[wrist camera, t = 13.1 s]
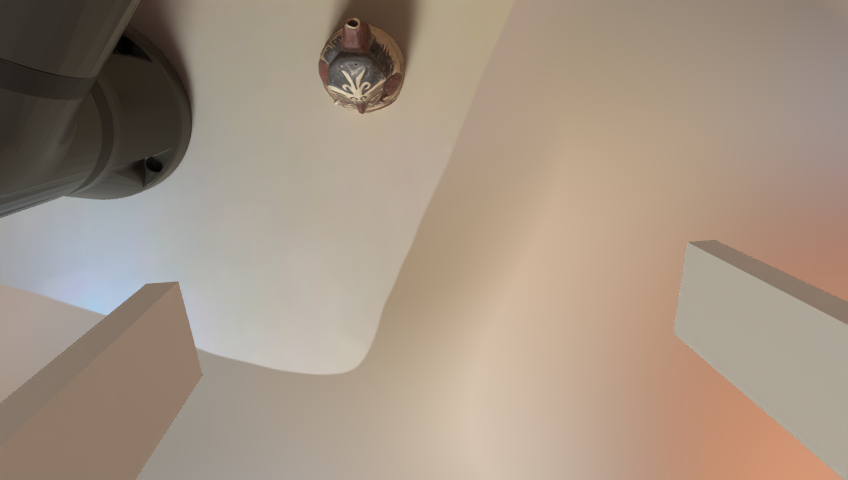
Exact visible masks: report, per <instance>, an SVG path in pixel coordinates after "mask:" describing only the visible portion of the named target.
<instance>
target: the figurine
mask: <svg viewBox="0 0 848 480" xmlns="http://www.w3.org/2000/svg"><path fill="white" fill-rule="evenodd" d="M319 74H320V77H321V79H322V82H323V85H324V87H325V89H326V91H327V92H328V94H329V95H330V96H331V97H332V98H333V99H334V100H335V101H334V104H335V105H337V106H343V107H345V108H347V109H348V110H351V111H359V113H361V114H364V113H371V112H373V111H375V110H379V109H382V108H384V107H386V106H388V105H390V104H392V103H393V102H394V101H395V100H396V99H397V97H398V95H399V93H400V91H401V88H402V85H403V81H404V75H405V66H404V59H403V56H402V53H401V51H400V48H399V47H398V45H397V44H396V42H395V41H394V39H393V38H392V37H391V36H390V35H388V34H387V33H386V32H385V31H383V30H382V29H379V28H377V27H374V26H372V25H368V24H366V23H364V22H360V21H359V19H357V18H349V19H348V20H347V21H346V22H345V24H344V26H343V28H341V29H340V30H338V31H337V32H335V33H334V34H333V35H332V36H331V37H330V39H329V40H328V41H327V42H326V44H325V47H324V49H323V50H322V52H321V55H320V60H319Z"/></svg>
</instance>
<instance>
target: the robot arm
mask: <svg viewBox="0 0 848 480" xmlns="http://www.w3.org/2000/svg"><path fill="white" fill-rule="evenodd" d="M140 1H141V0H0V218H2V217H5V216H8V215H11V214H13V213H16V212H19V211H22V210H25V209H28V208H31V207H34V206H37V205H40V204H43V203H46V202H49V201H51V200H54V199H57V198H60V197H62V196H68V197H78V198H88V199H101V200H105V199H117V198H123V197H128V196H132V195H134V194H137V193H140V192H142V191H145V190H147V189H149V188H152V187H154V186H156V185H157V184H159V183H161V182H162V181H164V180H165V179H166V178H167V177H168V176H170V175H171V174H172V173H173V172H174V170H175V169H176V168H177V167H178V165H179V164H180V162H181V161H182V159H183V157H184V155H185V152H186V150H187V147H188V144H189V139H190V133H191V114H190V107H189V103H188V99H187V95H186V92H185V90H184V87H183V85H182V83H181V81H180V79H179V77H178V75H177V73H176V71H175V70H174V68H173V67H172V65H171V64H170V63H169V61H168V60H167V59H166V57H165V56H164V55H163V54H162V53H161V52H160V51H159V50H158V49H157V47H156V46H154V45H153V44H152V43H151V42H150V41H149V40H148V39H146V38H145V37H144V36H142V35H141V34H140V33H138V32H137V31H135V30H134V29H132V28H130V27H128V26H127V25H128V23H129V21H130V19H131V18H132V16H133V14H134V12H135V10H136V8H137V7H138V5H139V3H140ZM673 333H674V334H675V335H676V336H677V337H678V338H680V339H681V340H682V341H683V342H684V343H685V344H687V345H688V346H689V347H690V348H691V349H692V350H694V351H695V352H696V353H697V354H698V355H699V356H701V357H702V358H703V359H704V360H705V361H706V362H708V363H709V364H710V365H711V366H712V367H713V368H715V369H716V370H717V371H718V372H719V373H720V374H721V375H723V376H724V377H725V378H726V379H727V380H729V381H730V382H731V383H732V384H733V385H734V386H735V387H737V388H738V389H739V390H740V391H741V392H742V393H744V394H745V395H746V396H747V397H748V398H749V399H751V400H752V401H753V402H754V403H755V404H756V405H758V406H759V407H760V408H761V409H762V410H763V411H765V412H766V413H767V414H768V415H769V416H770V417H772V418H773V419H774V420H775V421H776V422H777V423H779V424H780V425H781V426H782V427H783V428H784V429H785V430H787V431H788V432H789V433H790V434H792V436H794V437H795V438H796V439H797V440H798V441H800V442H801V443H802V444H803V445H804V446H805V447H807V448H808V449H809V450H810V451H811V452H813V454H815V455H816V456H817V457H818V458H819V459H820V460H822V461H823V462H824V463H825V464H826V465H828V466H829V467H830V468H831V469H832V470H833V471H834V472H836V473H837V474H838V475H839V476H840V477H841V478H843V479H844V480H848V302H847V301H845V300H843V299H840V298H838V297H836V296H834V295H832V294H830V293H828V292H825V291H823V290H821V289H819V288H817V287H815V286H813V285H810V284H808V283H806V282H804V281H802V280H800V279H797V278H795V277H793V276H791V275H789V274H787V273H785V272H783V271H780V270H778V269H776V268H774V267H772V266H770V265H767V264H765V263H763V262H761V261H759V260H757V259H755V258H752V257H750V256H748V255H746V254H744V253H742V252H740V251H737V250H735V249H733V248H731V247H729V246H727V245H725V244H722V243H720V242H718V241H716V240H710V241H696V242H688V243H687V248H686V254H685V260H684V266H683V273H682V279H681V285H680V292H679V298H678V304H677V311H676V317H675V323H674V329H673ZM201 377H202V371H201V367H200V364H199V359H198V355H197V351H196V348H195V344H194V340H193V336H192V332H191V328H190V325H189V321H188V317H187V313H186V309H185V305H184V302H183V298H182V294H181V290H180V286H179V282H165V283H152V284H146V285H144V286H143V287H142V288H141V289H140V290H138V291H137V292H136V293H135V294H133V295H132V296H131V297H130V298H129V299H127V300H126V301H125V302H124V303H122V304H121V305H120V306H119V307H117V308H116V309H115V310H114V311H113V312H111V313H110V314H109V315H108V316H106V317H105V318H104V319H103V320H102V321H100V322H99V323H98V324H97V325H95V326H94V327H93V328H92V329H91V330H90V331H88V332H87V333H86V334H85V335H83V336H82V337H81V338H80V339H78V340H77V341H76V342H75V343H73V344H72V345H71V346H70V347H68V348H67V349H66V350H65V351H64V352H62V353H61V354H60V355H59V356H57V357H56V358H55V359H54V360H53V361H51V362H50V363H49V364H48V365H46V366H45V367H44V368H43V369H42V370H41V371H39V372H38V373H37V374H35V375H34V376H33V377H32V378H31V379H29V380H28V381H27V382H26V383H24V384H23V385H22V386H21V387H20V388H18V389H17V390H16V391H15V392H13V393H12V394H11V395H10V396H8V397H7V398H6V399H5V400H4V401H2V402H1V403H0V480H135V479H136V478H137V476H138V475H139V473H140V472H141V470H142V468H143V467H144V465H145V464H146V462H147V461H148V459H149V458H150V456H151V454H152V453H153V451H154V450H155V448H156V447H157V445H158V444H159V442H160V440H161V438H162V437H163V436H164V434H165V433H166V431H167V429H168V428H169V426H170V425H171V423H172V422H173V420H174V419H175V417H176V416H177V414H178V412H179V411H180V409H181V408H182V406H183V405H184V403H185V401H186V400H187V398H188V397H189V395H190V394H191V392H192V391H193V389H194V387H195V386H196V384H197V383H198V381H199V380H200V378H201Z"/></svg>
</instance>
